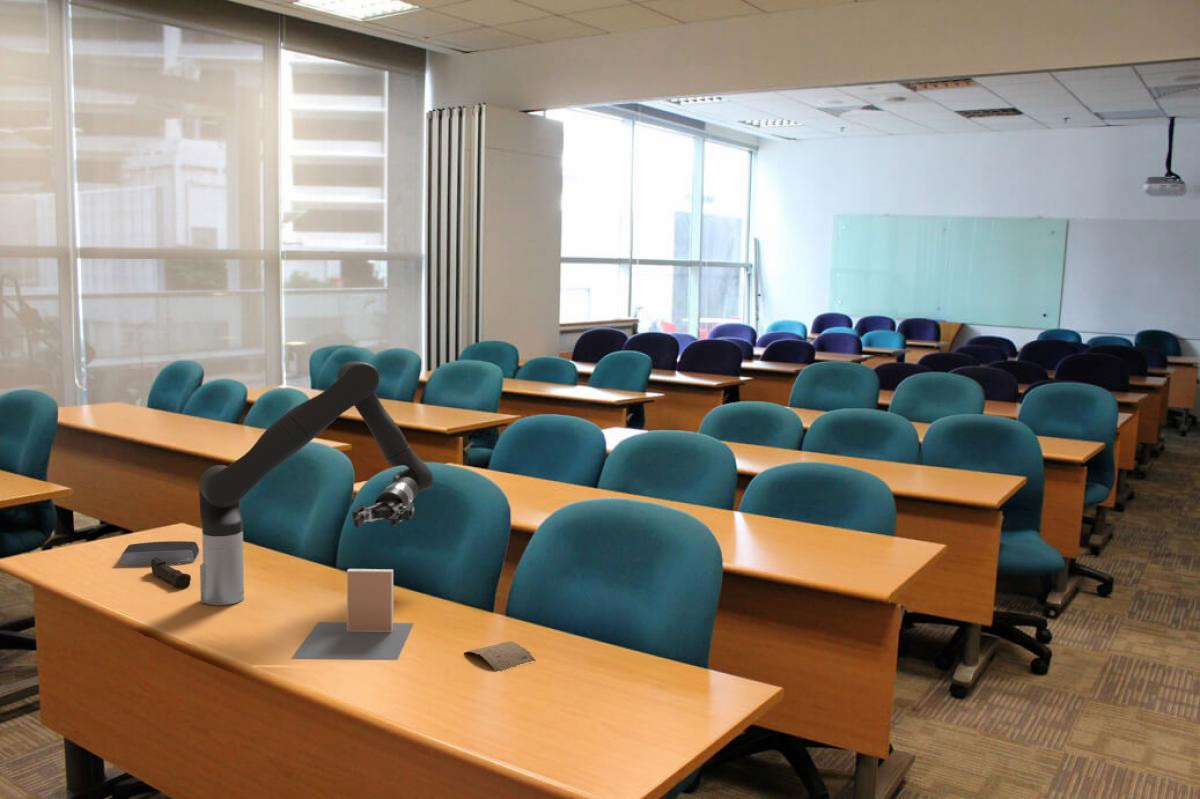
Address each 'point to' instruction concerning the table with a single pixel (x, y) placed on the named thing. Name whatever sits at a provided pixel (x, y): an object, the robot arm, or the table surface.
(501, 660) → the clay tablet
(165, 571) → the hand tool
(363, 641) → the mat
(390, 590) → the tile
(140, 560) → the external hard drive
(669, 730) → the table surface
